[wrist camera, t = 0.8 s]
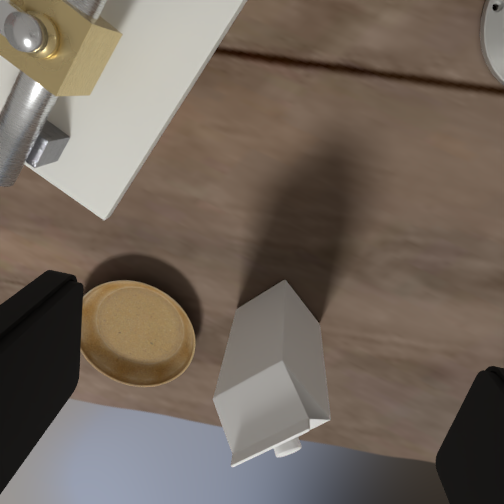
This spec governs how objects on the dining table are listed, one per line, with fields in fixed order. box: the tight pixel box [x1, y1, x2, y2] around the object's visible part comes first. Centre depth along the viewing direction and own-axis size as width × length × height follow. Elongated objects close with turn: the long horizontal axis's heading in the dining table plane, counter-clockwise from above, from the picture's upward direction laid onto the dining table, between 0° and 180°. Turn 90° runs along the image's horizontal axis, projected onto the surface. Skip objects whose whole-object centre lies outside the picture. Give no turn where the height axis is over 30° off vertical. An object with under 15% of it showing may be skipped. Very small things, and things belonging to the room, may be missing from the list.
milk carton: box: [213, 280, 331, 467], centre depth 39 cm, size 7×7×19 cm
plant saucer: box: [80, 280, 195, 387], centre depth 49 cm, size 15×15×3 cm
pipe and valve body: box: [0, 0, 123, 187], centre depth 33 cm, size 27×6×9 cm, turn 143°
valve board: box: [0, 0, 247, 220], centre depth 38 cm, size 28×18×2 cm, turn 143°
